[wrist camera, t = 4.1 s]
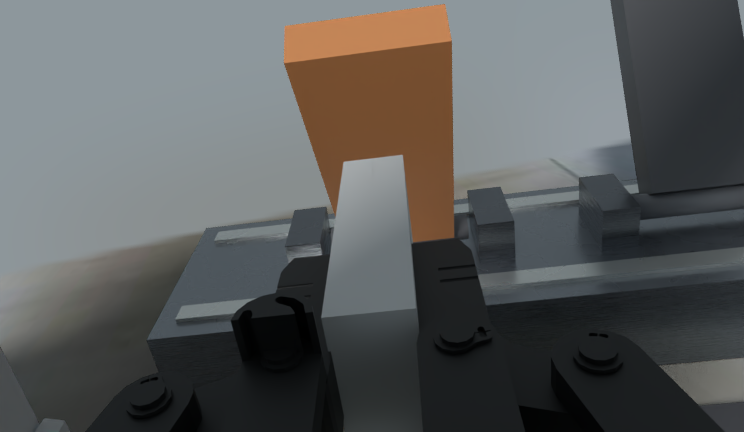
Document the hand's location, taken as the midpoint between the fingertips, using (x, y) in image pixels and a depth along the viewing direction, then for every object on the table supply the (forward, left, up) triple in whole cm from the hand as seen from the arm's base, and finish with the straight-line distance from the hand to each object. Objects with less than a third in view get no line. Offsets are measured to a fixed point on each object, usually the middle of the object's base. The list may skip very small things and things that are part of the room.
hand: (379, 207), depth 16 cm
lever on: (-14, -11, -7) cm, 19 cm away
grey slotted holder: (-4, -11, -12) cm, 17 cm away
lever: (0, -11, -7) cm, 13 cm away
